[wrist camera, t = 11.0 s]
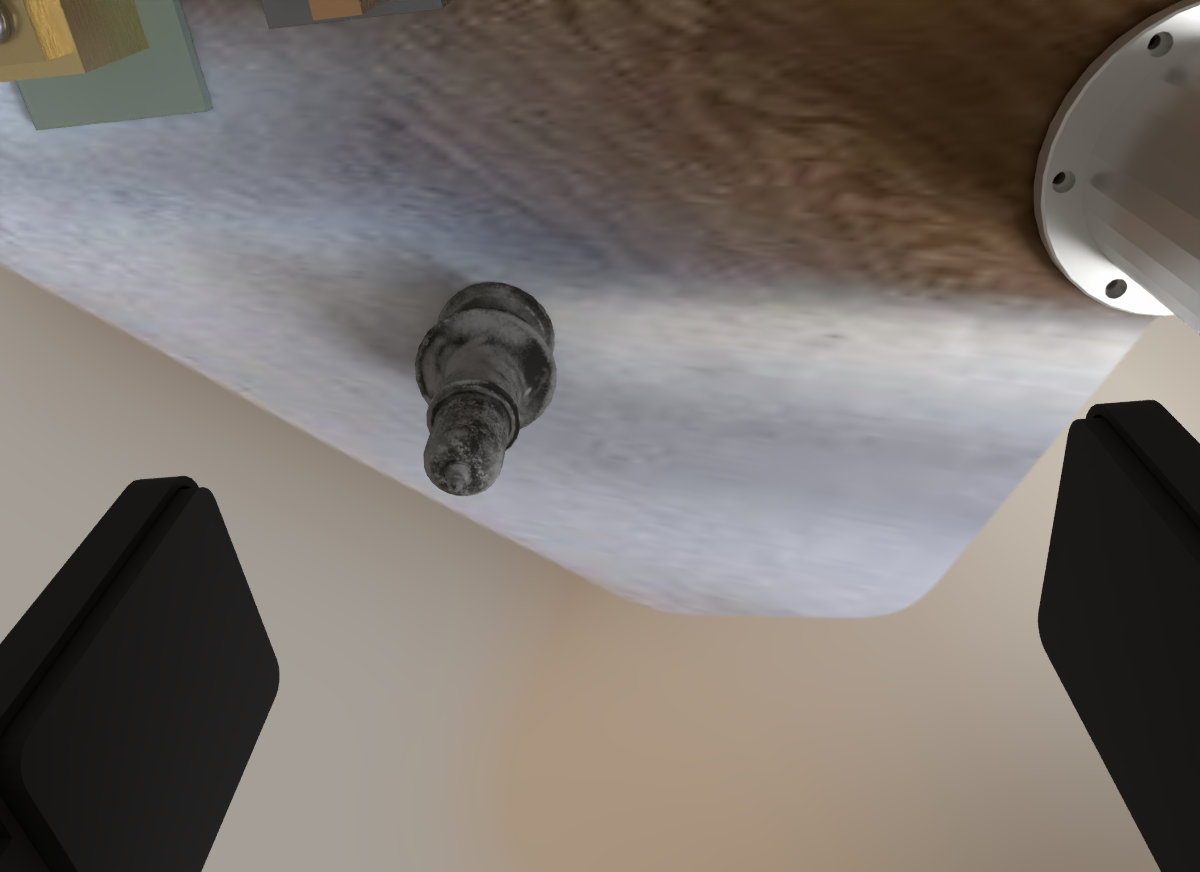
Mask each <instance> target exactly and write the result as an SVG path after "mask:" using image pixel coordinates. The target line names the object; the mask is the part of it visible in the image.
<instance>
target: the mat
mask: <svg viewBox="0 0 1200 872" xmlns="http://www.w3.org/2000/svg"><path fill="white" fill-rule="evenodd" d="M134 2H135V5H136V8H137V11H138V14H139V18H140V21H141V24H142V27H143V30H144V33H145V36H146V39H147V42H148V46H149V48H148V49H145V50H143V51H140V52H138V53H135V54H133V55H130V56H128V57H125V58H123V59H120V60H118V61H115V62H112V63H110V64H107V65H105V66H102V67H100V68H97V69H95V70H92V71H90V72H87V73H83V74H73V75H64V76H54V77H45V78H35V79H25V80H16V81H17V84H18V86H19V88H20V91H21V93H22V96H23V98H24V101H25V103H26V106H27V108H28V111H29V113H30V116H31V118H32V121H33V123H34V126H35V128H36V130H43V129H52V128H61V127H70V126H79V125H88V124H97V123H106V122H115V121H124V120H133V119H142V118H151V117H160V116H169V115H178V114H187V113H196V112H205V111H208V110H210V109H212V108H213V107H212V104H211V101H210V97H209V94H208V91H207V88H206V84H205V81H204V78H203V75H202V71H201V68H200V65H199V62H198V58H197V55H196V52H195V49H194V45H193V42H192V39H191V36H190V32H189V29H188V26H187V22H186V19H185V16H184V13H183V9H182V6H181V3H180V0H134Z"/></svg>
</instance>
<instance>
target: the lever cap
mask: <svg viewBox="0 0 1200 872" xmlns="http://www.w3.org/2000/svg"><path fill="white" fill-rule="evenodd" d="M148 48H149V46H148V42H147V39H146V36H145V33H144V30H143V27H142V24H141V21H140V18H139V14H138V11H137V8H136V5H135V2H134V0H0V82H6V81H16V80H25V79H35V78H45V77H54V76H64V75H73V74H83V73H87V72H90V71H92V70H95V69H97V68H100V67H102V66H105V65H107V64H110V63H112V62H115V61H118V60H120V59H123V58H125V57H128V56H130V55H133V54H135V53H138V52H140V51H143V50H145V49H148Z"/></svg>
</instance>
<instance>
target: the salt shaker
mask: <svg viewBox="0 0 1200 872" xmlns="http://www.w3.org/2000/svg"><path fill="white" fill-rule="evenodd" d="M553 351H554V330H553V327H552V323H551V320H550V318H549V316H548V315H547V313H546V311H545V309H544V308H543V306H542V305H541V304H539V303H538V302H537V301H536V300H535V299H534V298H533V297H532V296H531V295H529V294H528V293H526V292H524V291H522V290H521V289H519V288H517V287H513V286H510V285H506V284H503V283H483V284H478V285H473V286H470V287H468V288H466V289H464V290H462V291H460V292H458V293H457V294H456V295H455V296H454V297H453V298H452V299H450V300H449V301H448V302H447V304H446V305H445V307H444V309H443V310H442V312H441V314H440V316H439V320H438V323H437V324H436V325H435V326H434V327H432V328H431V329H430V330H429V331H428V332H427V334H426V336H425V337H424V339H423V341H422V342H421V344H420V346H419V349H418V353H417V357H416V362H415V369H416V380H417V383H418V386H419V389H420V391H421V394H422V396H423V398H424V399H425V400H426V402H427V403H428V405H429V407H428V410H427V426H428V429H429V432H430V435H429V438H428V441H427V444H426V447H425V451H424V468H425V471H426V473H427V476H428V477H429V479H430V480H431V481H432V483H433V484H435V485H436V486H437V487H438V488H439V489H441V490H443V491H445V492H447V493H449V494H453V495H457V496H469V495H475V494H478V493H480V492H483V491H485V490H486V489H488V488H489V487H490V486H491V485H492V484H493V483H494V481H495V480H496V479H497V477H498V476H499V474H500V471H501V468H502V464H503V459H504V454H505V451H507V450H508V449H509V448H510V447H511V446H512V444H513V443H514V442H515V440H516V439H517V436H518V433H519V430H520V429H521V428H523V427H526V426H528V425H529V424H531V423H532V422H533V421H534V420H536V419H537V418H538V417H539V416H541V415H542V413H543V412H544V410H545V409H546V408H547V406H548V405H549V403H550V402H551V399H552V396H553V393H554V390H555V387H556V365H555V362H554V358H553V355H552V354H553Z"/></svg>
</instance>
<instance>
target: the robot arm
mask: <svg viewBox="0 0 1200 872" xmlns="http://www.w3.org/2000/svg"><path fill="white" fill-rule="evenodd" d="M1154 35H1155V41H1154V43H1153V44H1152V45H1151V46H1150V47H1148V44H1149V41H1150V39H1151V38H1152V37H1153V36H1154ZM1060 172H1061V176H1060V178H1059V179H1058V180H1056V181H1053V180H1054V177H1055V176H1056V175H1057V174H1058V173H1060ZM1034 214H1035V218H1036V222H1037V226H1038V230H1039V234H1040V238H1041V240H1042V242H1043V244H1044V246H1045V248H1046V250H1047V252H1048V254H1049V256H1050V258H1051V260H1052V262H1053V263H1054V264H1055V265H1056V266H1057V267H1058V268H1059V270H1060V271H1061V272H1062V273H1063V274H1064V275H1065V276H1066V277H1067V279H1068V280H1069V281H1071V282H1072V283H1073V284H1074V285H1075V286H1076V287H1078V288H1079V289H1080V290H1081V291H1082V292H1083V293H1085V294H1086V295H1087V296H1089V297H1091V298H1092V299H1094V300H1096V301H1098V302H1099V303H1101V304H1103V305H1105V306H1108V307H1111V308H1114V309H1118V310H1121V311H1125V312H1128V313H1132V314H1138V315H1150V316H1161V317H1162V316H1173V315H1176V316H1177V317H1178V318H1180V319H1181V320H1182V321H1183V322H1184V323H1186V324H1187V325H1188V326H1189V327H1191V328H1192V329H1193V330H1194V331H1195V332H1196V333H1198V334H1199V335H1200V0H1182V1H1180V2H1178V3H1176V4H1174V5H1172V6H1170V7H1168V8H1166V9H1164V10H1162V11H1160V12H1158V13H1155V14H1153V15H1151V16H1149V17H1148V18H1146V19H1145V20H1144V21H1142V22H1141V23H1139V24H1138V25H1136V26H1135V27H1134V28H1132V29H1131V30H1129V31H1128V32H1126V33H1125V34H1123V35H1122V36H1121V37H1119V38H1118V39H1117V40H1116V41H1115V42H1113V43H1112V44H1111V45H1110V46H1109V47H1108V48H1107V49H1106V50H1105V51H1104V52H1103V53H1102V54H1101V55H1100V56H1099V57H1098V58H1097V59H1095V60H1094V61H1093V62H1092V63H1091V64H1090V65H1089V67H1088V68H1087V69H1086V70H1085V72H1084V73H1083V74H1082V76H1081V77H1080V78H1079V79H1078V81H1077V82H1076V83H1075V84H1074V86H1073V87H1072V88H1071V90H1070V91H1069V92H1068V93H1067V95H1066V97H1065V99H1064V100H1063V102H1062V104H1061V106H1060V107H1059V109H1058V111H1057V113H1056V115H1055V116H1054V118H1053V120H1052V122H1051V123H1050V126H1049V129H1048V131H1047V134H1046V137H1045V139H1044V142H1043V145H1042V148H1041V150H1040V153H1039V157H1038V163H1037V169H1036V174H1035V180H1034ZM1110 282H1111V283H1110ZM1109 283H1110V284H1109ZM1038 628H1039V634H1040V638H1041V642H1042V644H1043V647H1044V649H1045V651H1046V653H1047V655H1048V657H1049V659H1050V661H1051V663H1052V665H1053V667H1054V669H1055V670H1056V672H1057V674H1058V676H1059V678H1060V680H1061V682H1062V684H1063V686H1064V688H1065V690H1066V691H1067V693H1068V695H1069V697H1070V699H1071V701H1072V703H1073V705H1074V707H1075V709H1076V710H1077V712H1078V714H1079V716H1080V718H1081V720H1082V722H1083V724H1084V725H1085V728H1086V729H1087V731H1088V733H1089V735H1090V737H1091V739H1092V741H1093V743H1094V745H1095V746H1096V749H1097V750H1098V752H1099V754H1100V755H1101V758H1102V760H1103V762H1104V764H1105V765H1106V768H1107V769H1108V771H1109V773H1110V775H1111V777H1112V779H1113V781H1114V783H1115V784H1116V786H1117V789H1118V790H1119V792H1120V794H1121V796H1122V798H1123V800H1124V802H1125V804H1126V806H1127V807H1128V809H1129V811H1130V813H1131V815H1132V817H1133V819H1134V821H1135V823H1136V825H1137V827H1138V829H1139V830H1140V832H1141V834H1142V836H1143V838H1144V840H1145V842H1146V844H1147V845H1148V848H1149V849H1150V851H1151V853H1152V855H1153V857H1154V859H1155V861H1156V863H1157V864H1158V867H1159V868H1160V870H1161V872H1200V444H1199V442H1198V441H1197V440H1196V439H1195V438H1194V437H1193V436H1192V435H1190V433H1189V432H1188V431H1187V430H1186V429H1185V428H1184V427H1183V426H1182V425H1181V424H1180V423H1179V422H1178V421H1177V420H1176V419H1175V418H1174V417H1173V416H1172V415H1171V414H1170V413H1169V412H1168V411H1167V410H1166V409H1165V408H1164V407H1163V406H1162V405H1161V404H1160V403H1158V402H1157V401H1155V400H1143V401H1130V402H1118V403H1105V404H1096V405H1094V406H1092V407H1091V408H1090V410H1089V411H1088V413H1087V415H1086V419H1077V420H1075V421H1073V423H1072V424H1071V426H1070V429H1069V433H1068V438H1067V444H1066V450H1065V456H1064V462H1063V468H1062V474H1061V480H1060V486H1059V492H1058V498H1057V504H1056V510H1055V516H1054V522H1053V528H1052V534H1051V540H1050V546H1049V552H1048V558H1047V564H1046V570H1045V576H1044V582H1043V588H1042V594H1041V601H1040V606H1039V613H1038ZM278 686H279V666H278V662H277V659H276V656H275V653H274V651H273V648H272V646H271V643H270V640H269V638H268V635H267V633H266V630H265V627H264V625H263V622H262V620H261V617H260V615H259V612H258V609H257V606H256V604H255V602H254V599H253V596H252V593H251V591H250V588H249V586H248V583H247V581H246V578H245V575H244V573H243V570H242V567H241V565H240V562H239V560H238V558H237V554H236V552H235V549H234V547H233V544H232V541H231V539H230V536H229V534H228V531H227V528H226V526H225V523H224V520H223V518H222V515H221V513H220V510H219V507H218V505H217V502H216V500H215V498H214V496H213V494H212V493H211V491H210V490H209V489H207V488H204V487H201V488H199V487H198V485H197V483H195V481H194V480H192V478H189V477H187V476H178V477H165V478H153V479H140V480H136V481H133V482H132V483H131V484H129V485H128V486H127V487H126V489H125V490H124V491H123V492H122V494H121V495H120V496H119V497H118V498H117V500H116V501H115V502H114V503H113V505H112V506H111V508H110V509H109V510H108V511H107V512H106V513H105V515H104V516H103V517H102V518H101V520H100V521H99V522H98V524H97V525H96V526H95V527H94V528H93V530H92V531H91V532H90V533H89V534H88V536H87V537H86V538H85V540H84V541H83V542H82V543H81V544H80V546H79V547H78V548H77V549H76V551H75V552H74V553H73V554H72V556H71V557H70V558H69V559H68V561H67V562H66V563H65V564H64V566H63V567H62V568H61V569H60V571H59V572H58V573H57V574H56V575H55V577H54V578H53V579H52V580H51V582H50V583H49V584H48V585H47V587H46V588H45V589H44V590H43V592H42V593H41V594H40V595H39V597H38V598H37V599H36V600H35V602H34V603H33V604H32V605H31V606H30V608H29V609H28V610H27V611H26V613H25V614H24V615H23V616H22V618H21V619H20V620H19V621H18V623H17V624H16V625H15V626H14V628H13V629H12V630H11V631H10V633H9V634H8V635H7V636H6V637H5V639H4V640H3V641H2V643H1V644H0V872H201V871H202V869H203V866H204V864H205V861H206V859H207V857H208V854H209V852H210V850H211V847H212V845H213V843H214V840H215V838H216V836H217V833H218V831H219V829H220V826H221V824H222V822H223V819H224V817H225V814H226V812H227V810H228V807H229V805H230V803H231V800H232V798H233V796H234V793H235V791H236V789H237V786H238V783H239V782H240V779H241V777H242V775H243V772H244V770H245V767H246V765H247V763H248V760H249V758H250V756H251V753H252V751H253V749H254V746H255V744H256V741H257V739H258V736H259V735H260V732H261V730H262V727H263V725H264V723H265V720H266V718H267V716H268V713H269V711H270V709H271V706H272V704H273V701H274V699H275V697H276V694H277V691H278Z"/></svg>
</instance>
